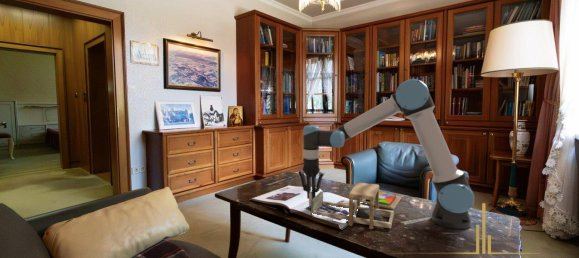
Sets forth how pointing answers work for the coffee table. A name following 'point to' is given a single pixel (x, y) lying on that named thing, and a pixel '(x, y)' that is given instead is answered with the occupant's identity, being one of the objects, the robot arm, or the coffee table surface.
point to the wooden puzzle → (385, 200)
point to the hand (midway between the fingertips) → (311, 205)
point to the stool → (364, 193)
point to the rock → (368, 214)
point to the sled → (318, 201)
